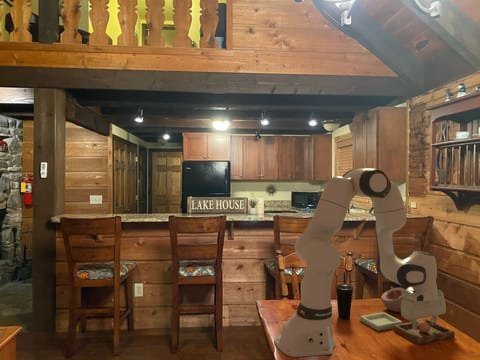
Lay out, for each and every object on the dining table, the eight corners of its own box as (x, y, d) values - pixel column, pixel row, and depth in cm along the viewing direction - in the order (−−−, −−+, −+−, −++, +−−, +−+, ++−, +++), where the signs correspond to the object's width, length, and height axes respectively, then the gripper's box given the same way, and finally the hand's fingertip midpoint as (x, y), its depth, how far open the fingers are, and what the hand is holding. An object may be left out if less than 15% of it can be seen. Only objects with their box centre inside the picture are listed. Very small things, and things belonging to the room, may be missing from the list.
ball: (424, 335, 123) (424, 324, 123) (414, 330, 127) (414, 319, 127) (432, 334, 124) (432, 322, 124) (422, 329, 128) (422, 318, 128)
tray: (377, 331, 128) (377, 326, 128) (360, 320, 137) (360, 316, 137) (402, 326, 132) (402, 321, 132) (383, 316, 142) (383, 312, 142)
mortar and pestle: (377, 305, 154) (377, 282, 154) (402, 306, 153) (402, 282, 154) (387, 316, 142) (387, 290, 142) (414, 316, 141) (414, 291, 142)
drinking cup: (354, 322, 136) (354, 275, 136) (336, 320, 138) (336, 274, 138) (352, 314, 143) (352, 270, 144) (334, 313, 145) (334, 269, 145)
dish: (419, 345, 117) (419, 339, 117) (394, 330, 128) (394, 325, 128) (454, 337, 123) (454, 331, 123) (426, 324, 134) (427, 319, 134)
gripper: (435, 286, 132) (436, 320, 132) (398, 292, 125) (398, 327, 125) (450, 291, 126) (450, 326, 126) (411, 298, 119) (411, 335, 119)
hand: (424, 327), depth 126 cm, fingers open, 8 cm apart
